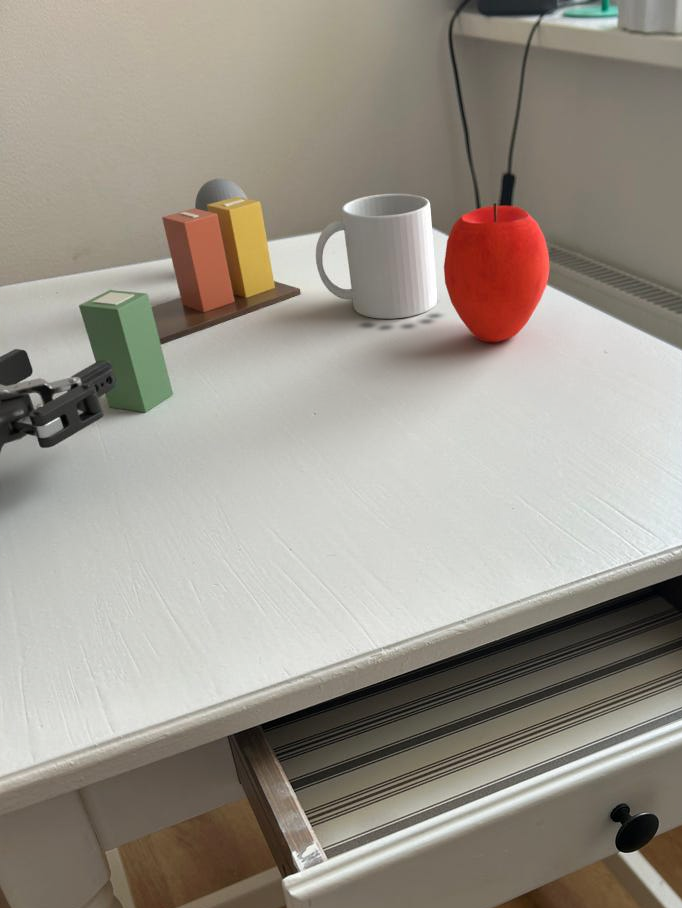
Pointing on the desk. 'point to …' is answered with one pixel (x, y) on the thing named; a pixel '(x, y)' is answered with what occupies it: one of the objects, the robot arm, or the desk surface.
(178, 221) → the block
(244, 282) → the yellow slotted money box
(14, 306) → the desk surface
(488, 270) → the apple
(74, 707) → the desk surface
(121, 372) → the green rectangular block
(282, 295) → the dark brown rectangular board
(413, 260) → the mug
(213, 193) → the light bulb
